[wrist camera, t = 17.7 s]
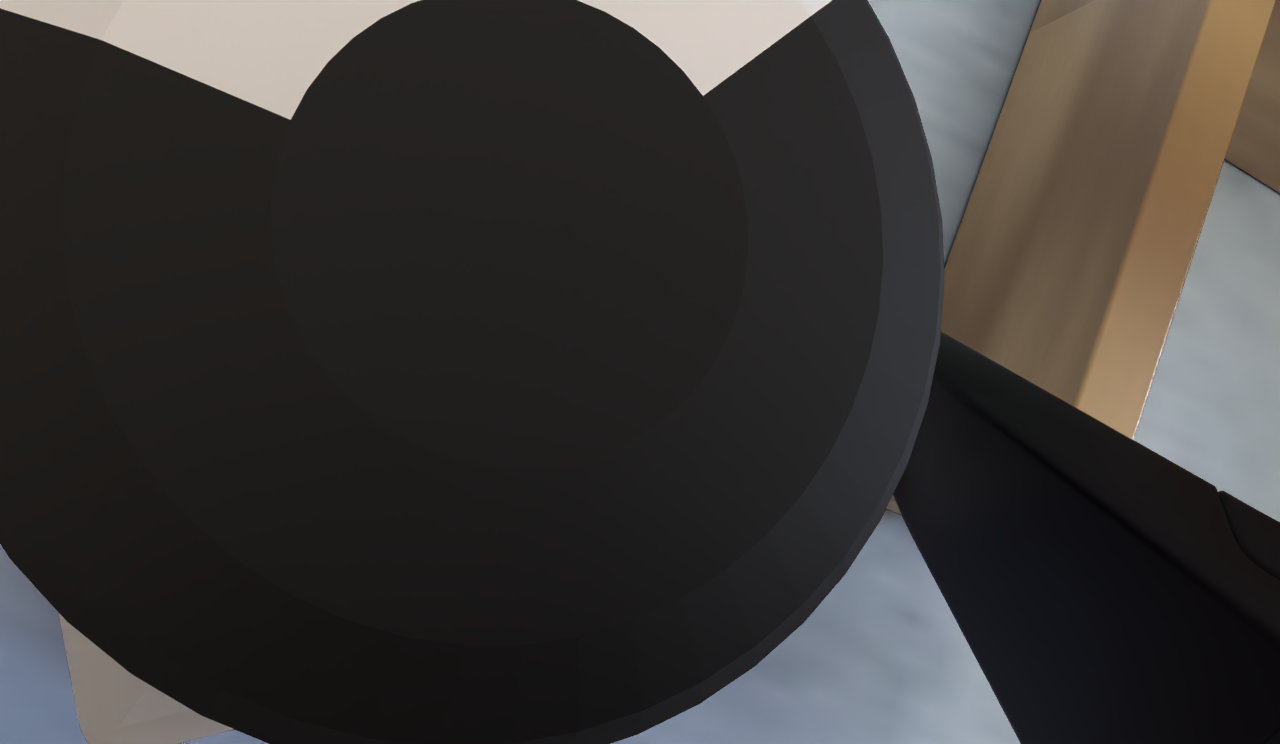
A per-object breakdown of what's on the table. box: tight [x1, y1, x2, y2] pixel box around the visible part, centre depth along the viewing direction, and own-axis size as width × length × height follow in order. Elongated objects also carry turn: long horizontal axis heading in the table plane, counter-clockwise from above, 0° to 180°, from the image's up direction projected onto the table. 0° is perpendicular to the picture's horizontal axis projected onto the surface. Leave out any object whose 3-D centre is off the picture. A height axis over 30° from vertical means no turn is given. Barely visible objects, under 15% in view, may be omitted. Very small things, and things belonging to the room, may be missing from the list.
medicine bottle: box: [0, 0, 945, 744], centre depth 11 cm, size 7×7×12 cm
